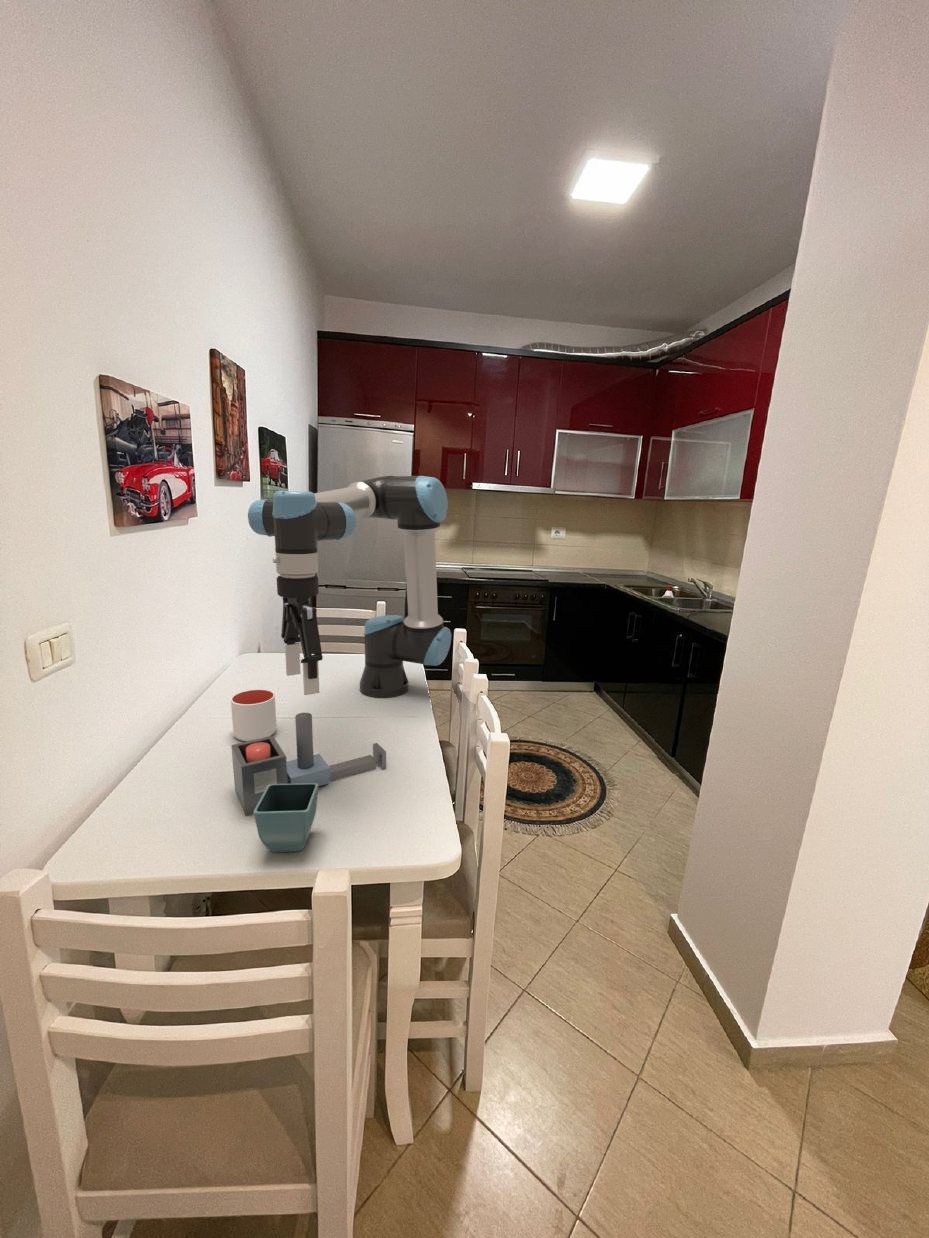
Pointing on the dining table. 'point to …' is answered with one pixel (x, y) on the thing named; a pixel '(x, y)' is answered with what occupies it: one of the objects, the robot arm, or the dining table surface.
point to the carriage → (306, 756)
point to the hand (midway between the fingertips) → (302, 683)
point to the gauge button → (257, 752)
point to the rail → (359, 764)
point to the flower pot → (286, 815)
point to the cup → (253, 714)
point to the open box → (257, 772)
